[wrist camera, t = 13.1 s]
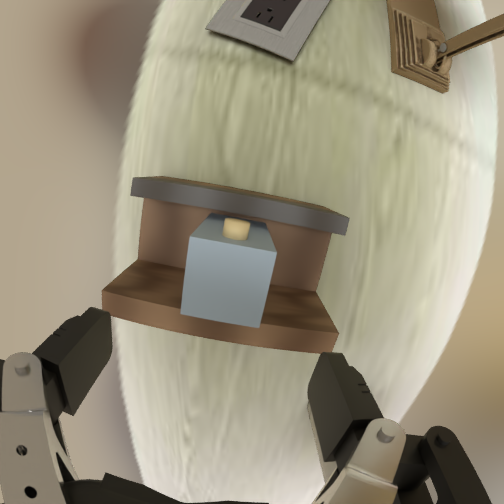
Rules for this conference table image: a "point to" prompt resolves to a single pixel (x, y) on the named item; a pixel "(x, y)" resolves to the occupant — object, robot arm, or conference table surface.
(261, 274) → the cabinet block
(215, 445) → the conference table surface
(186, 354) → the conference table surface
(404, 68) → the banker's lamp
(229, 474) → the conference table surface
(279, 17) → the electrical outlet
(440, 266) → the conference table surface
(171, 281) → the board
